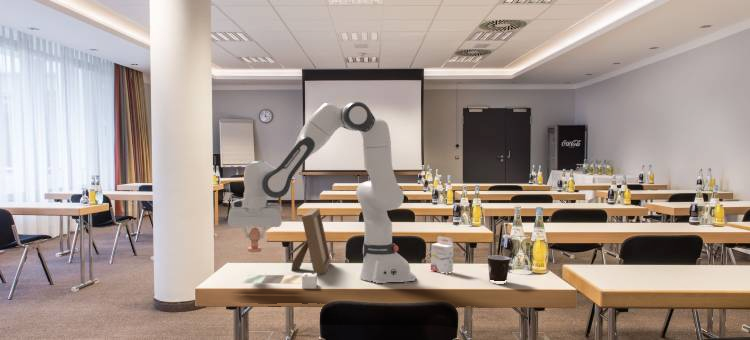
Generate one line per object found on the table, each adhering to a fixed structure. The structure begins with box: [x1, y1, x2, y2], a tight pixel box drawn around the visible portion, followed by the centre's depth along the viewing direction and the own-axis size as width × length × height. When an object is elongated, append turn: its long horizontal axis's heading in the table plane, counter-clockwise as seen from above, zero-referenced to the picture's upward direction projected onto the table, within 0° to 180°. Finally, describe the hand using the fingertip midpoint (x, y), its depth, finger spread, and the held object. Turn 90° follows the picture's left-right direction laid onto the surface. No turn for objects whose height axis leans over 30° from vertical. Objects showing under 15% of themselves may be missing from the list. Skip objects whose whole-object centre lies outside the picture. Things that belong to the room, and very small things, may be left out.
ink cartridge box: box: [430, 235, 454, 274], centre depth 213 cm, size 9×5×15 cm, turn 49°
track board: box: [242, 274, 303, 284], centre depth 195 cm, size 23×14×1 cm, turn 92°
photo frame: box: [291, 208, 332, 275], centre depth 214 cm, size 15×22×25 cm
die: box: [301, 272, 318, 289], centre depth 185 cm, size 5×5×5 cm
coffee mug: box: [487, 254, 511, 281], centre depth 196 cm, size 12×9×10 cm
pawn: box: [247, 227, 262, 253], centre depth 194 cm, size 5×5×9 cm
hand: (254, 238), depth 194 cm, fingers closed on pawn, 4 cm apart
